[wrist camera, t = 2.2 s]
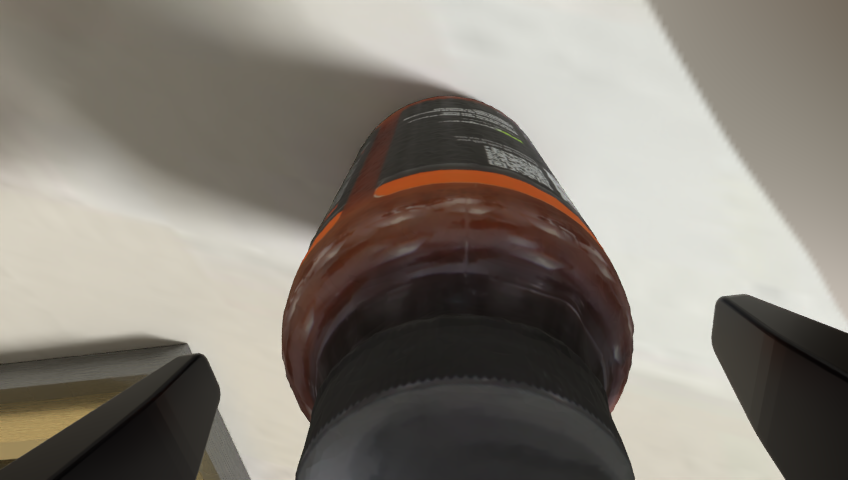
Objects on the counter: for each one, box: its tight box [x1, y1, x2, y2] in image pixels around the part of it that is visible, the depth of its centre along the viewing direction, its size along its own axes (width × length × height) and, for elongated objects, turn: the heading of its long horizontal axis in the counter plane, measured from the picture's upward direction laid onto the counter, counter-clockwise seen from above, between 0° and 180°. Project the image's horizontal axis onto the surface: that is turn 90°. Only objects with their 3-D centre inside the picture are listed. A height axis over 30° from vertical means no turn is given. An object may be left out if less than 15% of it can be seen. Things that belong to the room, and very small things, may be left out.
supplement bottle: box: [282, 96, 635, 480], centre depth 11 cm, size 6×6×11 cm
